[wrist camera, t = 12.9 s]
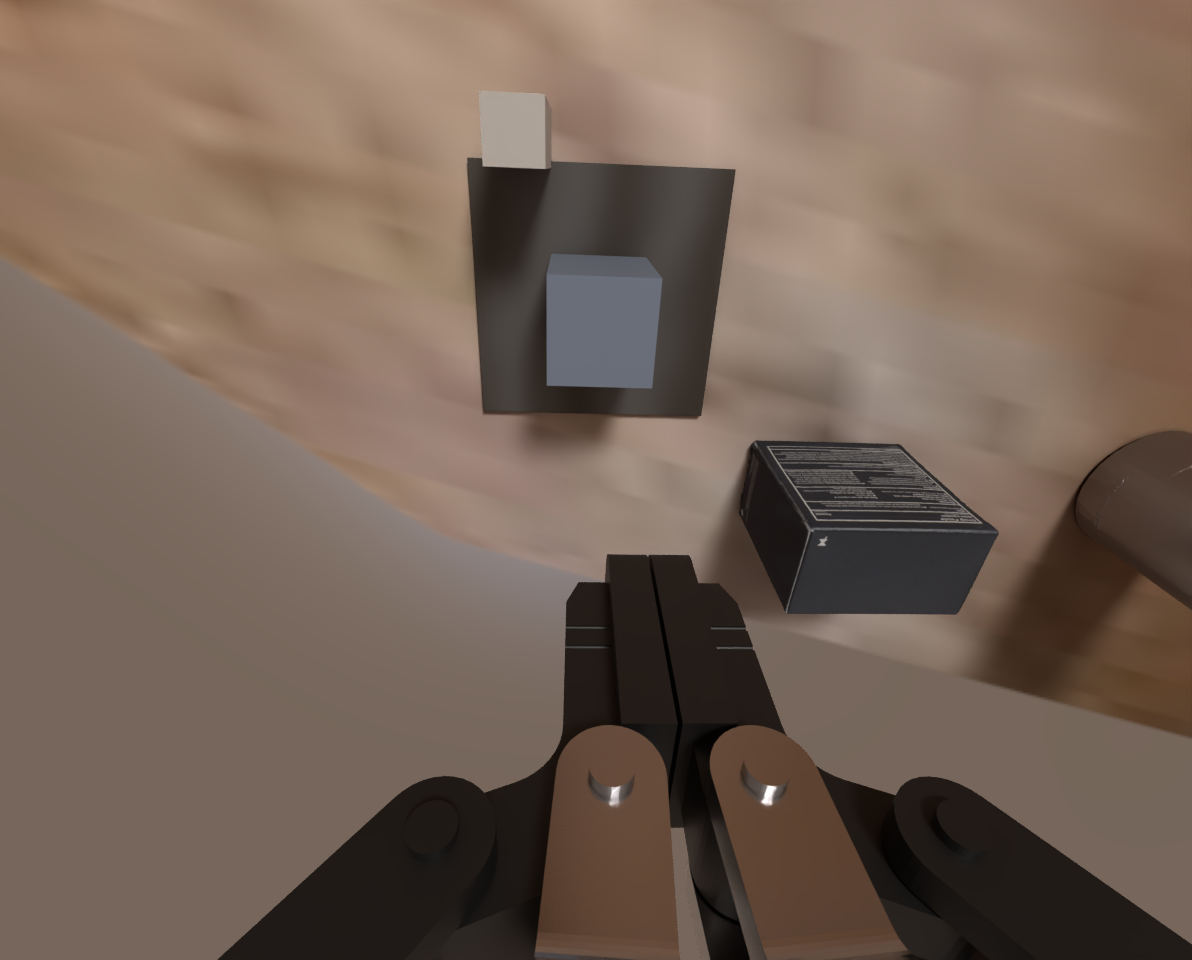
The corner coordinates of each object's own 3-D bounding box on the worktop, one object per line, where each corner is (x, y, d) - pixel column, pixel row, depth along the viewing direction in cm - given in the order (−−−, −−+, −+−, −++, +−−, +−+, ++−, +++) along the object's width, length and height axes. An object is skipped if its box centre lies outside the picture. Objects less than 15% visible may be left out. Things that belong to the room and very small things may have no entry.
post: (551, 109, 28) (545, 94, 22) (551, 168, 30) (545, 168, 23) (499, 106, 28) (478, 90, 22) (501, 165, 29) (482, 166, 23)
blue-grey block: (646, 257, 31) (662, 278, 25) (638, 350, 34) (652, 388, 28) (551, 253, 31) (546, 274, 25) (551, 347, 33) (546, 385, 28)
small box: (735, 518, 41) (780, 620, 32) (750, 437, 38) (806, 525, 29) (875, 521, 42) (960, 622, 32) (903, 441, 38) (1005, 528, 29)
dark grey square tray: (733, 169, 30) (774, 170, 24) (699, 413, 37) (724, 463, 31) (468, 157, 29) (440, 156, 23) (484, 408, 36) (466, 458, 30)
